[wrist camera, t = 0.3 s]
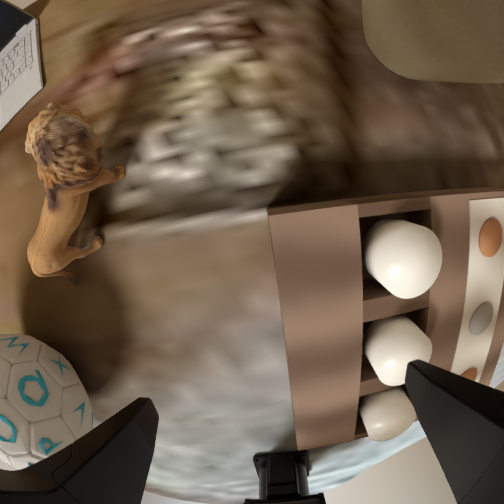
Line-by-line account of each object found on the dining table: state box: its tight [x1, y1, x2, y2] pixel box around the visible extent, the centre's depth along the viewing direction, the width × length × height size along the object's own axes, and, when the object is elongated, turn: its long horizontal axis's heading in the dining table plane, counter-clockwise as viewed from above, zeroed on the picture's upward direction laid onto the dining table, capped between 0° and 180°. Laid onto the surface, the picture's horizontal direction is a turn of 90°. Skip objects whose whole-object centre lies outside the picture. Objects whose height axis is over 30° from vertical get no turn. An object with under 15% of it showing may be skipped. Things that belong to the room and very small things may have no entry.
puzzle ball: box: [0, 334, 93, 470], centre depth 18 cm, size 15×15×15 cm
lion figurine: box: [25, 102, 125, 287], centre depth 16 cm, size 15×5×9 cm, turn 161°
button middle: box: [362, 313, 432, 386], centre depth 18 cm, size 4×4×4 cm
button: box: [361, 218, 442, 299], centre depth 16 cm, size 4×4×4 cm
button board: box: [267, 187, 504, 451], centre depth 20 cm, size 21×22×5 cm
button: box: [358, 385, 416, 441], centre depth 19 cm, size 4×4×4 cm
